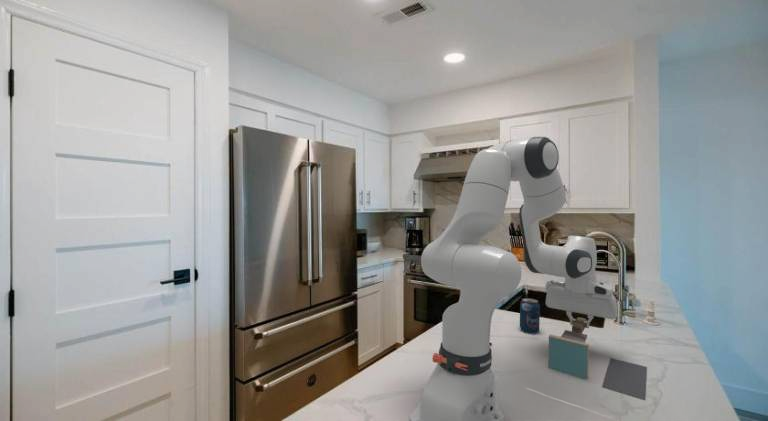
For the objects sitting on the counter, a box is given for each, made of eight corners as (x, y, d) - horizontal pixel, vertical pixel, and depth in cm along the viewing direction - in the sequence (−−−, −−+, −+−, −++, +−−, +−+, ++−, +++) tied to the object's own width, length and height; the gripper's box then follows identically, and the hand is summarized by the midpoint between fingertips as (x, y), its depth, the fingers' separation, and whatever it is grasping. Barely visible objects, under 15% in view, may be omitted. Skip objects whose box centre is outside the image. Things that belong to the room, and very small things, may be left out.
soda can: (529, 335, 122) (530, 303, 122) (515, 329, 128) (516, 298, 128) (543, 333, 125) (544, 301, 124) (529, 326, 131) (529, 296, 131)
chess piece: (662, 325, 134) (663, 300, 134) (649, 325, 134) (650, 300, 134) (652, 321, 139) (652, 296, 139) (639, 320, 139) (640, 296, 139)
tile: (587, 381, 90) (588, 345, 90) (547, 369, 97) (548, 336, 96) (588, 379, 92) (589, 343, 91) (549, 367, 98) (549, 334, 98)
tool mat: (645, 402, 81) (645, 400, 81) (601, 389, 86) (601, 387, 86) (647, 369, 98) (647, 367, 98) (610, 359, 103) (610, 357, 103)
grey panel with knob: (583, 344, 96) (583, 336, 96) (560, 339, 100) (560, 331, 100) (592, 327, 110) (592, 319, 110) (572, 322, 114) (572, 315, 114)
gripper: (543, 281, 112) (543, 321, 112) (616, 291, 99) (616, 337, 99) (548, 277, 117) (547, 316, 117) (618, 287, 104) (617, 330, 104)
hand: (579, 326), depth 108 cm, fingers closed on grey panel with knob, 2 cm apart
